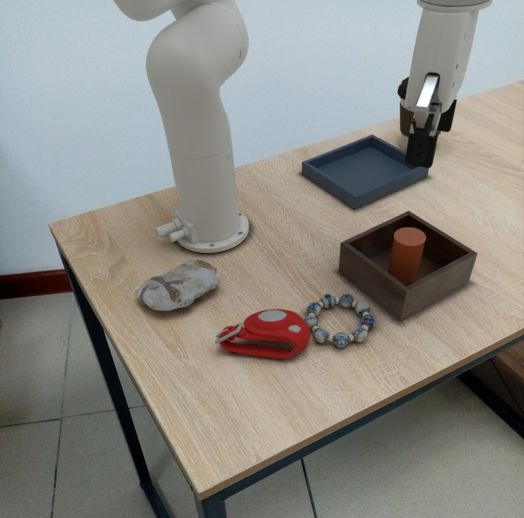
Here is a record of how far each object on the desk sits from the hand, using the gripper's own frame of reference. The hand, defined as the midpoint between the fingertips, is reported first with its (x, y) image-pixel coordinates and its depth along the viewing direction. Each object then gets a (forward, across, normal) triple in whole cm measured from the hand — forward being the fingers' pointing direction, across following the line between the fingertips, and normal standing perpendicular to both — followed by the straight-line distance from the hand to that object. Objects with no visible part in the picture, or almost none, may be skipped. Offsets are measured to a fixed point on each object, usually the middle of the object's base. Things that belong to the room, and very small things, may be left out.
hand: (428, 146), depth 66 cm
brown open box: (+20, +2, 0) cm, 20 cm away
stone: (+20, +18, -30) cm, 40 cm away
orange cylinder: (+19, +2, 0) cm, 19 cm away
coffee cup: (+20, -39, -9) cm, 45 cm away
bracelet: (+20, +15, -6) cm, 25 cm away
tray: (+20, -24, -15) cm, 35 cm away
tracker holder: (+20, +21, -14) cm, 32 cm away
